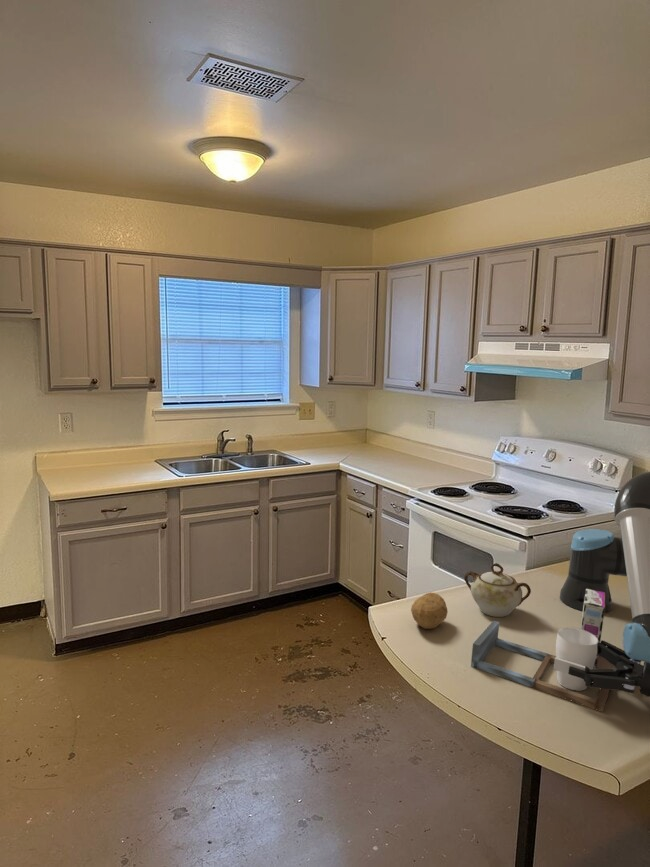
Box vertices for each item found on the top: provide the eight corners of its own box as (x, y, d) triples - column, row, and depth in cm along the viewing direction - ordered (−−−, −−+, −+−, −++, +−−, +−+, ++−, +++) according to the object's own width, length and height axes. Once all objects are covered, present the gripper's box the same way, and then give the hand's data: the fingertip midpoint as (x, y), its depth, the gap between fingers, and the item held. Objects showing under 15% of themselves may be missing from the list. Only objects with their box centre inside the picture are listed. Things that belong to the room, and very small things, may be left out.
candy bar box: (597, 669, 148) (605, 607, 145) (576, 663, 150) (583, 602, 148) (598, 649, 158) (605, 591, 156) (578, 645, 160) (585, 587, 158)
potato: (403, 631, 163) (405, 603, 162) (418, 612, 175) (420, 586, 174) (438, 640, 159) (440, 612, 157) (450, 620, 171) (453, 593, 170)
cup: (596, 697, 136) (602, 648, 134) (555, 690, 137) (560, 642, 136) (587, 676, 144) (593, 630, 143) (548, 670, 146) (554, 624, 144)
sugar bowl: (454, 611, 177) (458, 563, 175) (469, 594, 190) (473, 549, 188) (521, 629, 167) (527, 579, 165) (533, 611, 180) (538, 564, 178)
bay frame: (613, 680, 143) (616, 656, 142) (602, 711, 130) (605, 686, 129) (491, 641, 159) (493, 620, 158) (470, 666, 146) (472, 643, 145)
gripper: (654, 726, 120) (546, 689, 132) (664, 673, 141) (570, 645, 152) (659, 692, 119) (550, 658, 131) (668, 644, 140) (573, 618, 151)
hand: (560, 651), depth 142 cm, fingers open, 13 cm apart
